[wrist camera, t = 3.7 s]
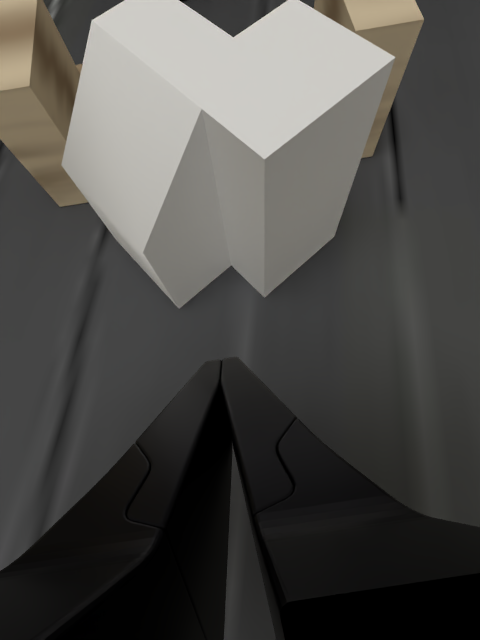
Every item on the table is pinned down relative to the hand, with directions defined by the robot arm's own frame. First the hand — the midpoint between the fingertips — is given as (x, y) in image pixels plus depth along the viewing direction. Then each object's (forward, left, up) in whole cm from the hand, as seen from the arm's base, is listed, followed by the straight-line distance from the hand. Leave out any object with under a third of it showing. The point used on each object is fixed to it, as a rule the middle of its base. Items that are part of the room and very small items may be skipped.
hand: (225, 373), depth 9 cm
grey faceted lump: (+9, -9, -13) cm, 17 cm away
